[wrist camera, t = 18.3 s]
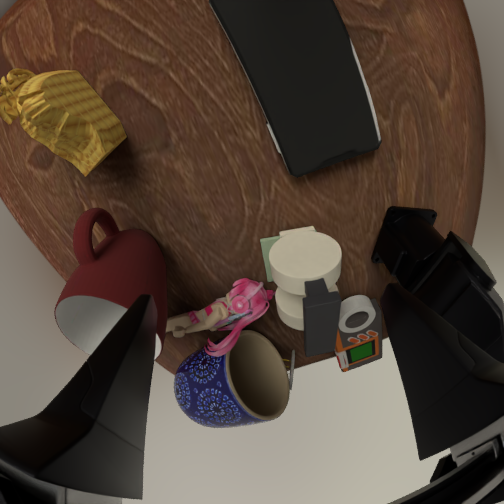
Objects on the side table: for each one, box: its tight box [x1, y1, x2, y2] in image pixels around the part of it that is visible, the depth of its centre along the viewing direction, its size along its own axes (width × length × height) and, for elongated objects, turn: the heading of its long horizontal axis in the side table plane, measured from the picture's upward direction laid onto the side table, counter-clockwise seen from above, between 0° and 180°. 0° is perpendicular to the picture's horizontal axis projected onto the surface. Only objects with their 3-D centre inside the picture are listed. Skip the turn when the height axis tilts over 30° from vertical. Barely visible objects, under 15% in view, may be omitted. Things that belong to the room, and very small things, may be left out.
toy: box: [166, 278, 276, 357], centre depth 27 cm, size 7×6×15 cm
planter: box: [174, 330, 290, 428], centre depth 30 cm, size 11×11×11 cm
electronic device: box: [335, 295, 382, 372], centre depth 33 cm, size 7×3×15 cm
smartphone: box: [209, 0, 381, 178], centre depth 15 cm, size 8×1×15 cm
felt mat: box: [260, 230, 316, 282], centre depth 25 cm, size 5×5×1 cm
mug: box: [55, 208, 168, 360], centre depth 19 cm, size 10×8×10 cm
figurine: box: [0, 69, 127, 177], centre depth 12 cm, size 4×12×7 cm, turn 33°
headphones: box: [269, 226, 342, 357], centre depth 22 cm, size 6×6×9 cm
